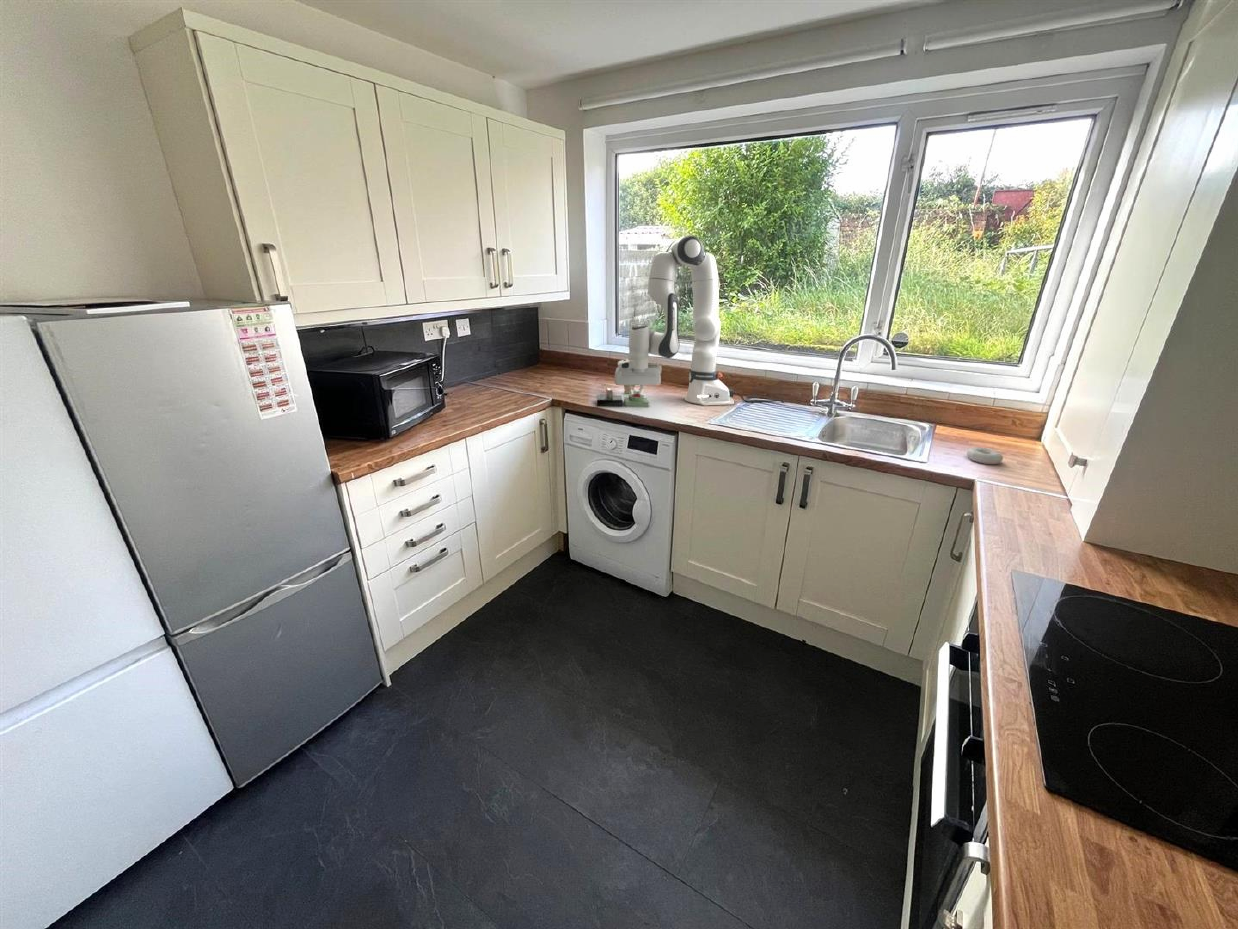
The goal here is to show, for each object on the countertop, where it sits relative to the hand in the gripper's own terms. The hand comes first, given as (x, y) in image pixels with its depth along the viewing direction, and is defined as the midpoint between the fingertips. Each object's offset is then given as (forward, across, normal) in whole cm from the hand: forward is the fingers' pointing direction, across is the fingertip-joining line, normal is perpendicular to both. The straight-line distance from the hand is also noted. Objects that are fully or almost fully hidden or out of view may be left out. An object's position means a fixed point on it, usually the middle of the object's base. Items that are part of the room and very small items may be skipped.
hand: (636, 394), depth 220 cm
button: (+2, 0, 0) cm, 2 cm away
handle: (+5, +2, -21) cm, 22 cm away
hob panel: (+4, +12, 0) cm, 13 cm away
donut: (+5, -110, +68) cm, 130 cm away
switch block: (+4, 0, 0) cm, 4 cm away
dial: (+1, +12, 0) cm, 12 cm away
